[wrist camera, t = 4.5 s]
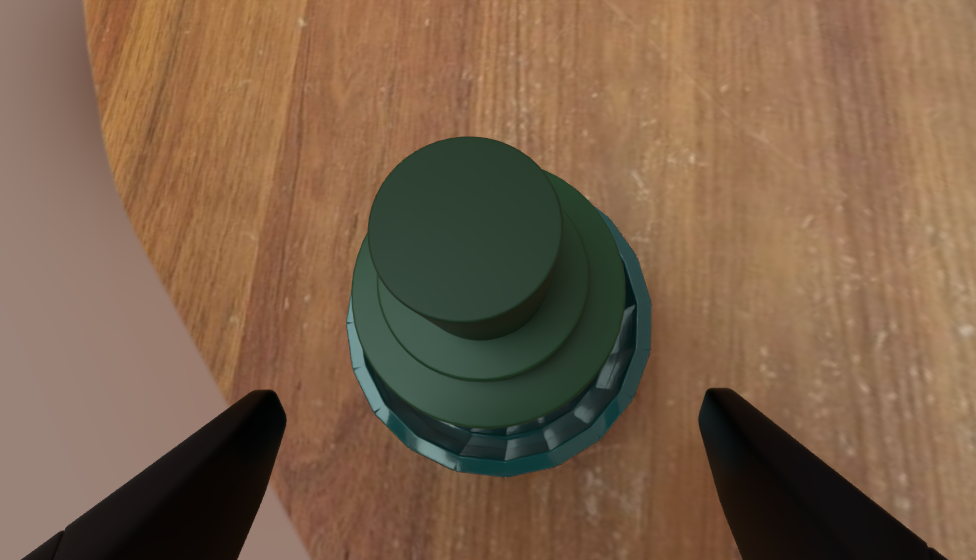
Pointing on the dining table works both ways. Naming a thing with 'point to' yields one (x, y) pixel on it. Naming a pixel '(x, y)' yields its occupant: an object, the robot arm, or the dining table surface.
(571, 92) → the dining table surface
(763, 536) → the robot arm
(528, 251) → the bottle
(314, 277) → the dining table surface
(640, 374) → the glazed bowl
